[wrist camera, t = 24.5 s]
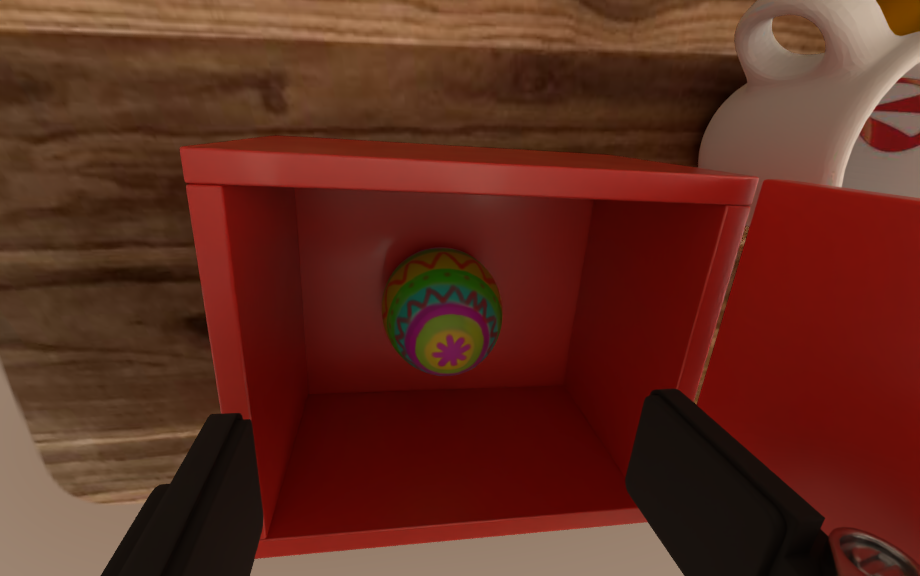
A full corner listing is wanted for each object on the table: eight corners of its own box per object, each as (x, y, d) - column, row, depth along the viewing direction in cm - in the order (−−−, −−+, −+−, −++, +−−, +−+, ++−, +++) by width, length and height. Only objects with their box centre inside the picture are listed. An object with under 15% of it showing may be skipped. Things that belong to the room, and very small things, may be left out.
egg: (473, 342, 21) (502, 419, 16) (373, 327, 20) (368, 403, 15) (499, 248, 20) (542, 297, 14) (393, 226, 19) (395, 270, 13)
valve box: (296, 398, 22) (242, 560, 14) (274, 135, 18) (177, 146, 9) (569, 388, 24) (659, 521, 16) (609, 154, 20) (761, 176, 12)
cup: (614, 80, 19) (760, 53, 12) (771, -49, 18) (1037, -168, 11) (713, 260, 23) (868, 326, 15) (845, 161, 22) (1076, 181, 15)
